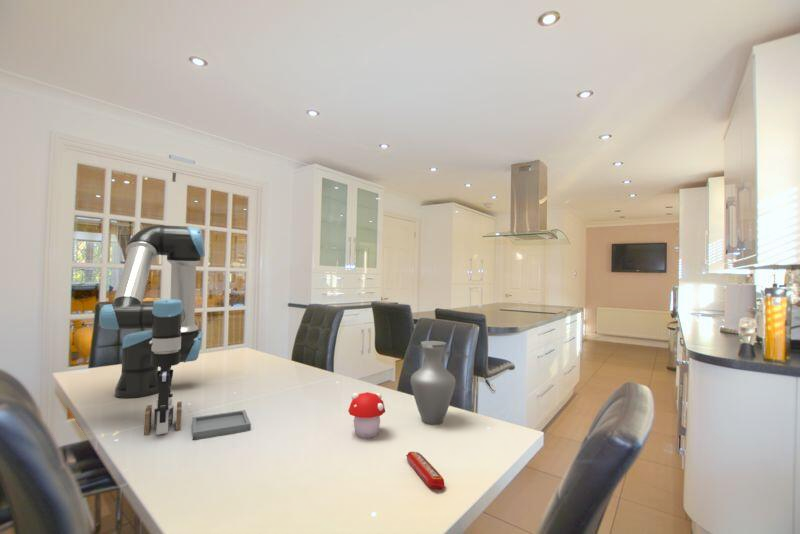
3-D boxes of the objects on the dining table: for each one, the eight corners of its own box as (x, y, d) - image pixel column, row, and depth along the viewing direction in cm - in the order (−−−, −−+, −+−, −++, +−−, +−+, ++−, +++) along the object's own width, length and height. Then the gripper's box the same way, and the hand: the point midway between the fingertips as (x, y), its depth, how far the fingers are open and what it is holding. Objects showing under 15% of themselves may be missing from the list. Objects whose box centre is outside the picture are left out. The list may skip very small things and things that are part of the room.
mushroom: (390, 429, 114) (391, 389, 115) (376, 444, 104) (377, 400, 105) (358, 424, 118) (359, 385, 118) (341, 438, 108) (342, 395, 108)
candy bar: (447, 492, 82) (447, 477, 82) (431, 495, 81) (432, 480, 81) (417, 458, 97) (417, 446, 97) (404, 461, 96) (404, 448, 96)
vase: (460, 417, 126) (461, 341, 126) (447, 433, 113) (448, 348, 113) (419, 410, 132) (421, 337, 133) (402, 424, 119) (404, 343, 119)
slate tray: (192, 424, 116) (192, 417, 116) (244, 416, 123) (245, 409, 123) (192, 440, 105) (192, 432, 105) (250, 430, 112) (250, 423, 112)
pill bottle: (163, 431, 110) (164, 402, 110) (149, 430, 111) (150, 401, 111) (176, 425, 115) (177, 397, 115) (163, 424, 116) (164, 396, 116)
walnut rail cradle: (146, 425, 114) (147, 405, 114) (181, 420, 119) (181, 401, 119) (143, 435, 107) (144, 414, 107) (180, 429, 112) (181, 409, 112)
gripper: (154, 346, 122) (151, 416, 121) (147, 359, 102) (144, 443, 101) (181, 344, 125) (178, 412, 125) (179, 357, 105) (177, 438, 105)
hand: (163, 426), depth 113 cm, fingers open, 10 cm apart
